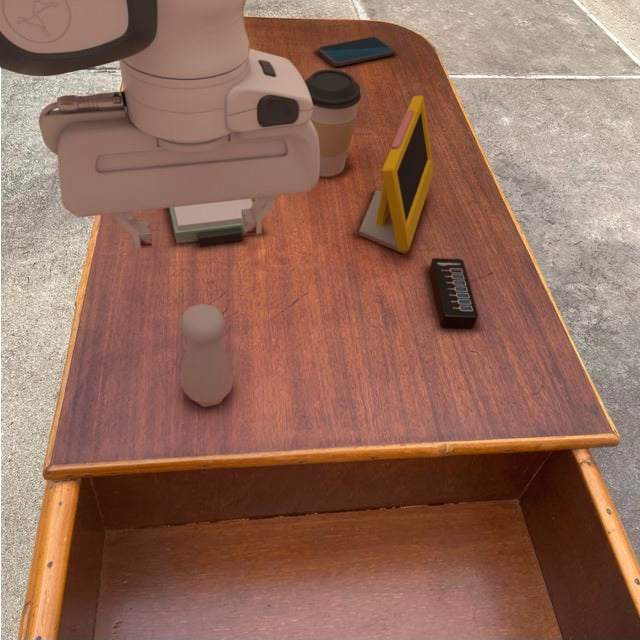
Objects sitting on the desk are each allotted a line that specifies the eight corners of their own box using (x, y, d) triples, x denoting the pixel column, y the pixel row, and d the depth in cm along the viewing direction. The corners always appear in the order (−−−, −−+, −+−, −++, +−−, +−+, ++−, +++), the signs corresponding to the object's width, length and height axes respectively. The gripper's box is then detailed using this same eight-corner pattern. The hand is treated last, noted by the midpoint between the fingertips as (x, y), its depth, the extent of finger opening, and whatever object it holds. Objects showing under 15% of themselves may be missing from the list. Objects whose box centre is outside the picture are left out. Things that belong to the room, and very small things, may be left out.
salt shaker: (191, 368, 75) (182, 289, 65) (239, 375, 75) (237, 298, 65) (176, 409, 71) (164, 332, 62) (227, 417, 71) (223, 341, 61)
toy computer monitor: (404, 269, 89) (426, 175, 78) (350, 255, 91) (364, 160, 79) (429, 190, 103) (452, 99, 91) (382, 178, 104) (398, 87, 92)
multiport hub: (440, 328, 83) (444, 316, 81) (428, 269, 90) (431, 257, 88) (474, 329, 83) (479, 317, 81) (459, 270, 90) (463, 258, 89)
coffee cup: (284, 162, 105) (288, 74, 94) (322, 142, 110) (330, 57, 98) (325, 187, 101) (334, 99, 90) (362, 166, 106) (375, 79, 95)
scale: (177, 249, 89) (176, 234, 87) (165, 192, 97) (163, 177, 95) (262, 238, 92) (263, 223, 90) (243, 184, 100) (243, 168, 98)
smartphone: (315, 51, 132) (315, 47, 131) (375, 39, 138) (376, 35, 137) (334, 68, 128) (335, 63, 127) (395, 55, 134) (396, 50, 133)
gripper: (31, 123, 41) (74, 278, 51) (334, 101, 46) (318, 246, 56) (32, 75, 45) (71, 228, 55) (310, 60, 50) (300, 202, 60)
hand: (198, 237), depth 56 cm, fingers open, 8 cm apart
